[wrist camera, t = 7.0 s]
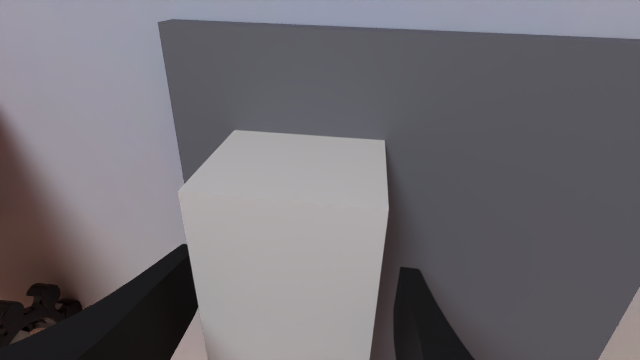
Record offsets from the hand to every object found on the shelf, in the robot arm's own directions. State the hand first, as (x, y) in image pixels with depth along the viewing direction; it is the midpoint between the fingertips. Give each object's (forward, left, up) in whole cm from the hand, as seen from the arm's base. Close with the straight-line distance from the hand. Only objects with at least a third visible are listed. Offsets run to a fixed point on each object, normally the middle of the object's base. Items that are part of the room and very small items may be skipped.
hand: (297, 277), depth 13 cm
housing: (0, 0, -2) cm, 2 cm away
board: (-4, +1, -3) cm, 5 cm away
